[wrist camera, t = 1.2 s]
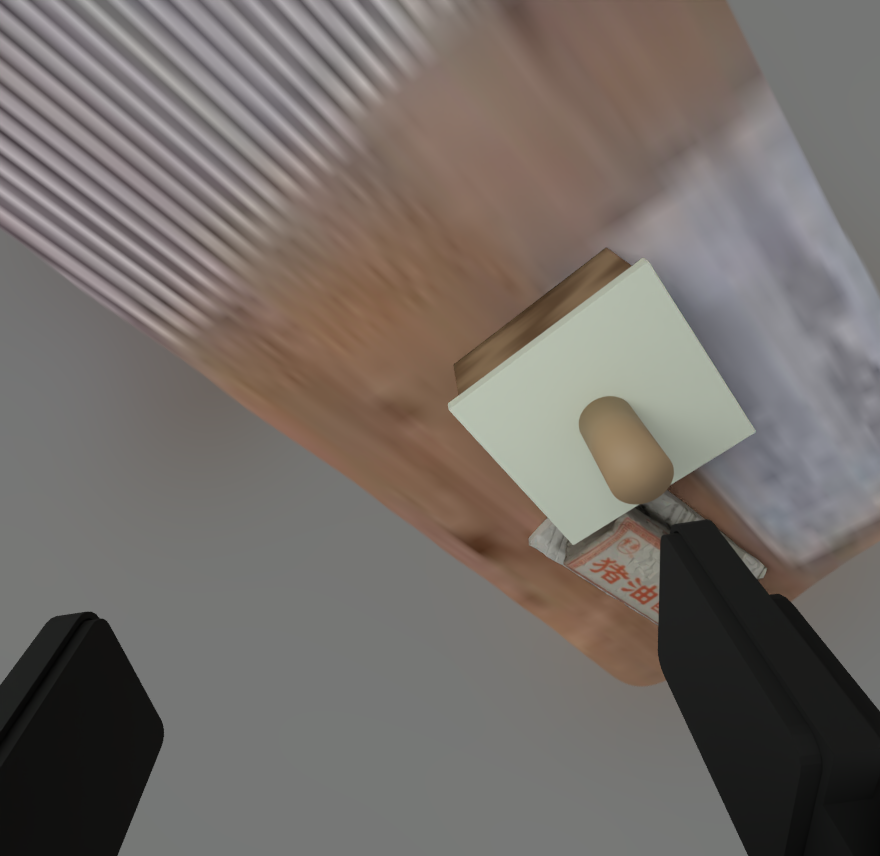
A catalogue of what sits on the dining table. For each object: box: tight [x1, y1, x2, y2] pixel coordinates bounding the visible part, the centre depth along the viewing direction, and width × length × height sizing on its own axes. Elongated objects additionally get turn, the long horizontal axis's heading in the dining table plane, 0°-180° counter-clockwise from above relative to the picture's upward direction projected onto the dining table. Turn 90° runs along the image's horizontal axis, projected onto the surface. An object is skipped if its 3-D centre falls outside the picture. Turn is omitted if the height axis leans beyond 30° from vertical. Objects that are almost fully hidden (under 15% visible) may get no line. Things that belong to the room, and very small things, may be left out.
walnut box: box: [454, 248, 631, 395], centre depth 38 cm, size 12×12×6 cm
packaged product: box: [529, 490, 767, 625], centre depth 47 cm, size 18×5×10 cm
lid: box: [448, 258, 756, 545], centre depth 32 cm, size 13×13×7 cm
